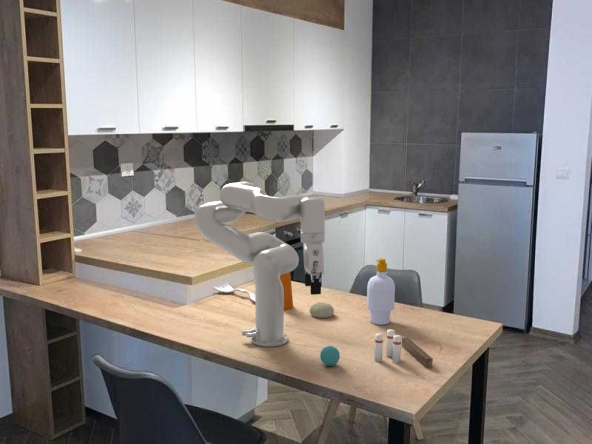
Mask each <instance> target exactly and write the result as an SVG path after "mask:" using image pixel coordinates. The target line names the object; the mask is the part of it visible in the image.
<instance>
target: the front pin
mask: <svg viewBox="0 0 592 444" xmlns="http://www.w3.org/2000/svg"><path fill="white" fill-rule="evenodd" d="M374 337H375V338H374V362H377V363H380V362H383V349H384V348H383V346H384V334H383V333H380V332H379V333H378V332H377V333H375V336H374Z"/></svg>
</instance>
